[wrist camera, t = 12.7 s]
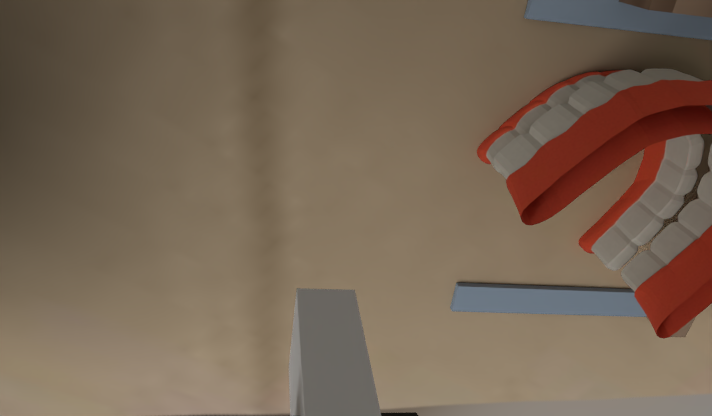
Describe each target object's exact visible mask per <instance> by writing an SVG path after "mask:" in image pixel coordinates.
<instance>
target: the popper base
mask: <svg viewBox="0 0 712 416" xmlns="http://www.w3.org/2000/svg"><path fill="white" fill-rule="evenodd" d="M619 2H622V3H625V4H629V5H633V6H636V7H640V8H643V9H647V10H653V11H661V12H669V13H677V14H685V15H693V16H701V17H709V18H712V0H619Z"/></svg>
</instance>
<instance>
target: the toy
mask: <svg viewBox="0 0 712 416" xmlns="http://www.w3.org/2000/svg"><path fill="white" fill-rule="evenodd" d="M701 134H712V80H709V81H703V80H701V79H698V78H696V77H694V76H691V75H689V74H684V73H682V72H679V71H677V70H674V69H656V68H652V69H645V70H644V71H642V72H641V73H639V72H636V71H634V70H631V69H630V70H613V71H604V72H597V71H596V72H588V73H584V74H580V75H577V76H574V77H572V78H570V79H567V80H566V81H564V82H560V83H558V84H555V85H554V86H552V87H550V88H548V89H547V90H545V91H544V92H542V93H541V94H539V95H538V96H537V97H535V98H534V99H533V100H532V101H530V103H529V104H528V105H526V106H524V107H523V108H521V109H520V110H519V111H517V112H516V113H515V114H514V115H513V116H511V117H510V118H509V119H508V120H507V121H506V122H504V123H503V124H502V125H501V126H500V128H499V129H498V130H497V131H495V132H493V133H492V134H491V135H490V136H489V137H488V138H486V139H485V140H484V141H483V142H482V143H481V145H480V146H479V147H478V150H477V154H478V157H479V158H480V159H481V160H482V161H483V162H485V163H487V164H492V165H493V167H494V168H495V170H496V171H497V172H499V173H501V174H502V175H503V176H504V177H505V178H506V179H507V180H506V183H507V187H508V190H509V192H510V194H511V196H512V198H513V200H514V202H515V204H516V206H517V209H518V211H519V214H520V217H521V219H522V222H523V223H524V224H526V225H534V224H538V223H540V222H543V221H545V220H547V219H549V218H550V217H552V216H554V215H555V214H556V213H558V212H559V211H561V210H562V209H563V208H565V207H566V206H567V205H568V204H570V203H571V202H572V201H573V200H575V199H576V198H577V197H578V196H579V195H581V194H582V193H583V192H585V191H586V190H587V189H588V188H590V187H591V186H592V185H594V184H595V183H596V182H598V181H599V180H600V179H602V178H603V177H604V176H606V175H607V174H608V173H610V172H611V171H612V170H613V169H615V168H616V167H618V166H619V165H620V164H622V163H623V162H625V161H626V160H627V159H629V158H630V157H632V156H633V155H635V154H636V153H638V152H639V151H641V150H643V149H644V148H645V151H644V157H643V160H642V163H641V166H640V168H639V171H638V174H637V176H636V179H635V181H634V183H633V184H632V185H631V187H630V188H629V189H628V190H627V191H626V192H625V193H624V195H623V196H622V197H621V198H620V199H619V200H618V201H617V202H616V203H615V204H614V205H613V206H612V207H611V208H610V209H609V210H608V211H607V212H606V213H605V214H604V215H603V216H602V218H601V219H600V220H599V221H598V222H597V223H596V224H594V225H593V226H592V227H591V228H590V229H589V230H588V231H587V232H586V233H585V234H584V235H583V236H582V237H581V238H580V240H579V245H580V246H581V247H582V248H583V249H584V251H586V252H588V253H595V254H596V255H597V257H598V258H599V259H600V260H601V261H602V262H603V264H604V265H605V266H606V267H607V268H608V269H610V270H618V269H620V268H621V267H622V266H623V265H625V264H626V263H627V262H628V261H629V260H630V259H631V258H632V257H633V256H634V255H635V254H636V253H637V250H638V246H641V245H645V244H646V243H648V242H649V241H650V240H651V239H652V238H653V237H654V236H655V235H656V234H657V233H658V232H659V231H660V229H661V228H662V227H663V226H664V219H668V218H671V217H673V216H674V215H675V214H676V213H677V212H678V210H679V209H680V208H681V207H682V205H683V204H684V195H685V194H687V193H689V192H691V190H692V189H693V187H694V185H695V183H696V181H697V177H698V174H697V171H696V169H695V168H696V167H697V166H698V165H700V163H701V160H702V156H703V150H704V140H703V138H702V137H701ZM708 166H709V168H710V172H708V173H706V174H704V176H703V177H702V179H701V181H700V184H699V186H698V189H697V194H698V197H699V198H698V199H696V200H692V201H691V202H689V203H688V204H687V205H686V206H685V207H684V209H683V210H682V211H681V212H680V213H679V215H678V222H672V223H670V224H669V225H668V226H667V227H666V228H665V229H664V230H663V231H662V232H661V233H660V234H659V235H658V236H657V237H656V238H655V239H654V240H653V242H652V243H651V247H650V250H644V251H642V252H641V253H639V254H638V255H637V256H636V257H635V258H634V259H632V260H631V261H630V262H629V263H628V264H627V265H626V266H625V267H624V269H623V270H622V271H621V276H622V278H623V280H624V281H625V282H626V283H627V284H628V285H629V286H630V287H631V289H632V290H633V291H634V292H635V295H634V297H635V298H636V300H637V301H638V303H639V304H640V306H641V307H642V309H643V310H644V312H645V314H646V315H647V317H648V318H649V320H650V322H651V324H652V326H653V328H654V330H655V332H656V334H657V336H658V337H660V338H667V337H670V336H671V335H673V334H674V333H676V332H677V331H678V330H680V329H681V328H682V327H683V326H684V325H686V324H687V323H688V322H689V321H691V320H692V319H693V318H694V317H695V316H697V315H698V314H699V313H700V312H702V311H703V310H704V309H705V308H706V307H708V306H709V305H710V304H711V303H712V144H711V146H710V152H709V157H708Z"/></svg>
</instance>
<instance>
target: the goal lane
mask: <svg viewBox="0 0 712 416" xmlns="http://www.w3.org/2000/svg"><path fill="white" fill-rule="evenodd" d="M524 18H526V19H533V20H542V21H551V22H559V23H568V24H576V25H585V26H594V27H602V28H611V29H619V30H628V31H637V32H645V33H654V34H662V35H671V36H680V37H688V38H697V39H705V40H712V18H709V17H701V16H693V15H685V14H677V13H669V12H661V11H653V10H647V9H643V8H640V7H636V6H633V5H629V4H625V3H622V2H619V0H528V4H527V7H526V11H525V15H524ZM708 172H710V169H709V171H708ZM698 198H699V197H698V195H697V197H696V199H698ZM696 199H695V200H696ZM634 295H635V292H634V291H633V290H632V289H614V288H587V287H560V286H534V285H507V284H480V283H456V287H455V291H454V295H453V299H452V302H451V306H450V308H451V310H452V311H462V312H496V313H530V314H565V315H599V316H633V317H647V315H646V314H645V312H644V310H643V309H642V307H641V306H640V304H639V303H638V301H637V300H636V298H635V297H634ZM695 317H696V316H695ZM695 317H694V318H693V319H692V320H691V321H689V322H688V323H687V324H686V325H684V326H683V327H682V328H681V329H680V330H678V331H677V332H676V333H674V334H673V335H671V336H670V337H685V336H686V334H687V333H688V331H689V329H690V327H691V325H692V323H693V321H694V319H695ZM647 318H648V317H647ZM648 320H649V318H648ZM649 321H650V320H649Z"/></svg>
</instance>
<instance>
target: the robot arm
mask: <svg viewBox="0 0 712 416" xmlns="http://www.w3.org/2000/svg"><path fill="white" fill-rule="evenodd" d="M289 387H290V416H418V415H417V413H381V412H380V407H379V403H378V398H377V393H376V388H375V384H374V379H373V374H372V369H371V365H370V360H369V355H368V351H367V346H366V341H365V336H364V332H363V327H362V322H361V317H360V313H359V308H358V303H357V298H356V294H355V290H338V289H300V288H297V291H296V301H295V311H294V321H293V331H292V341H291V351H290V361H289Z"/></svg>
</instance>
